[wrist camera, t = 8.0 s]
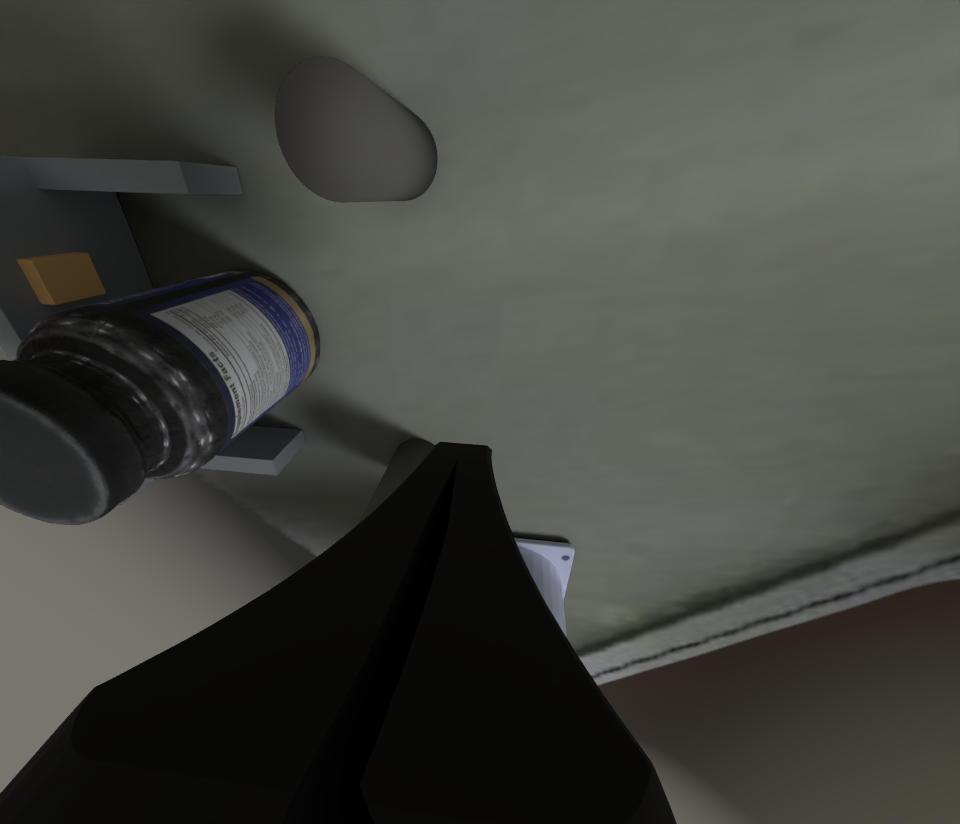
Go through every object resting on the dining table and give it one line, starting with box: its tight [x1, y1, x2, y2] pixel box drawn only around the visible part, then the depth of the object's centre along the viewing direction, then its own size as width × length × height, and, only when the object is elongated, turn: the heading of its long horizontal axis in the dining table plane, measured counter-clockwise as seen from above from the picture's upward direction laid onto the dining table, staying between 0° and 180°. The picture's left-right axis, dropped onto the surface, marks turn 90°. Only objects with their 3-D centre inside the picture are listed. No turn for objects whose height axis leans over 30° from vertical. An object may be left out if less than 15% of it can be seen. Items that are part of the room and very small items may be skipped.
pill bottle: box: [0, 270, 320, 525], centre depth 14 cm, size 6×6×11 cm
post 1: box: [275, 57, 437, 202], centre depth 12 cm, size 3×3×6 cm
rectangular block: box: [0, 155, 306, 505], centre depth 17 cm, size 14×7×6 cm, turn 178°
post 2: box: [360, 439, 435, 522], centre depth 20 cm, size 3×3×6 cm
